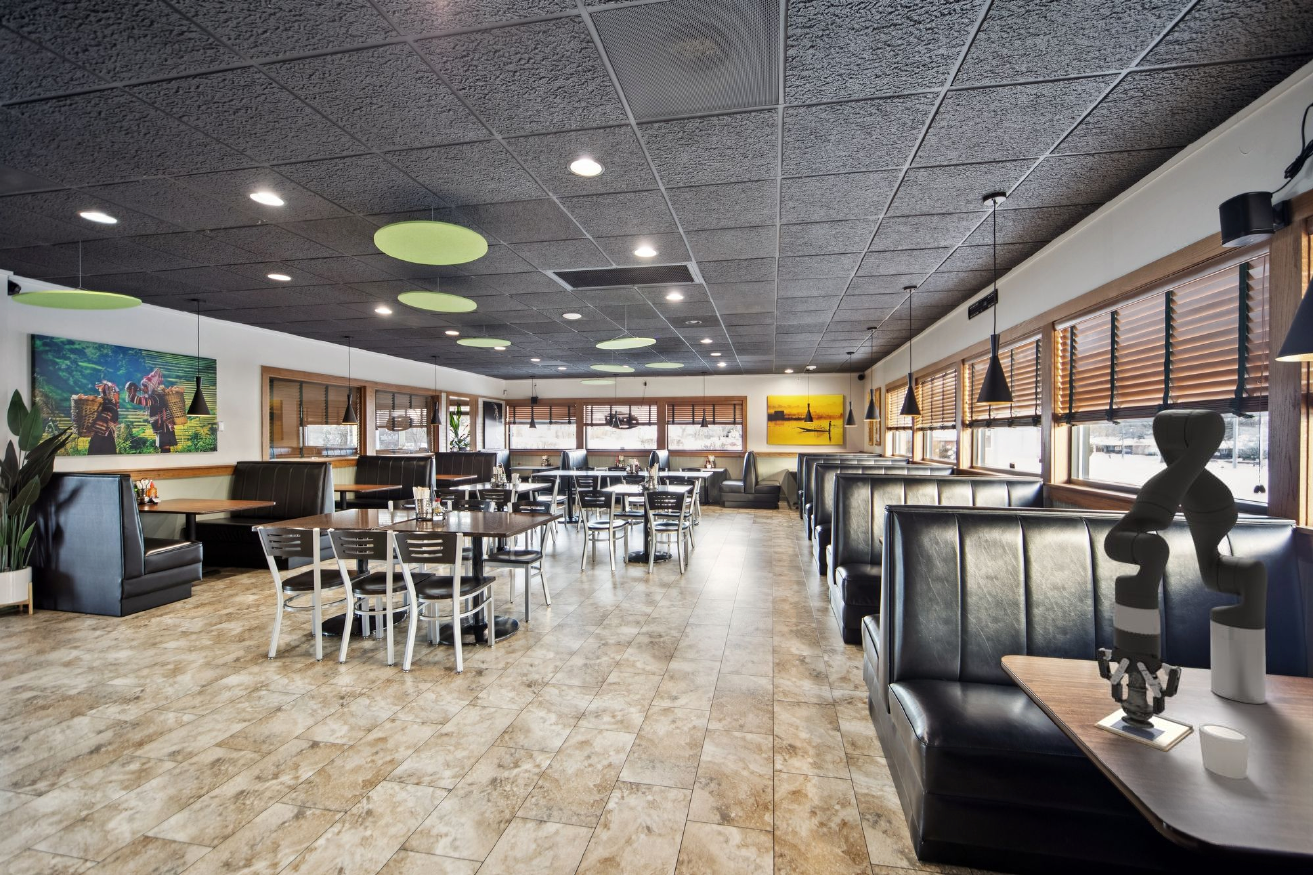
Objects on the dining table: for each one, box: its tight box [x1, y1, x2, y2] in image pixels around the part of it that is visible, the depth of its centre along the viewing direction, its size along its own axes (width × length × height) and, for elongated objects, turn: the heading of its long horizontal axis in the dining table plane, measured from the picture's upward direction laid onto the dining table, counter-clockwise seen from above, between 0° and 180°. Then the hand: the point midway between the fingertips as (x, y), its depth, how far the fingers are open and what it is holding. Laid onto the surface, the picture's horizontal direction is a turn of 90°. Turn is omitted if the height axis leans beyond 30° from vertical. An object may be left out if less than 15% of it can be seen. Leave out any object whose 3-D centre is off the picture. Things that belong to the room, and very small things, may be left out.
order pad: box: [1093, 707, 1195, 752], centre depth 121 cm, size 16×12×1 cm
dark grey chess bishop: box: [1118, 671, 1154, 729], centre depth 119 cm, size 6×6×12 cm
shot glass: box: [1197, 723, 1251, 780], centre depth 106 cm, size 7×7×7 cm
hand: (1137, 707), depth 119 cm, fingers closed on dark grey chess bishop, 6 cm apart
